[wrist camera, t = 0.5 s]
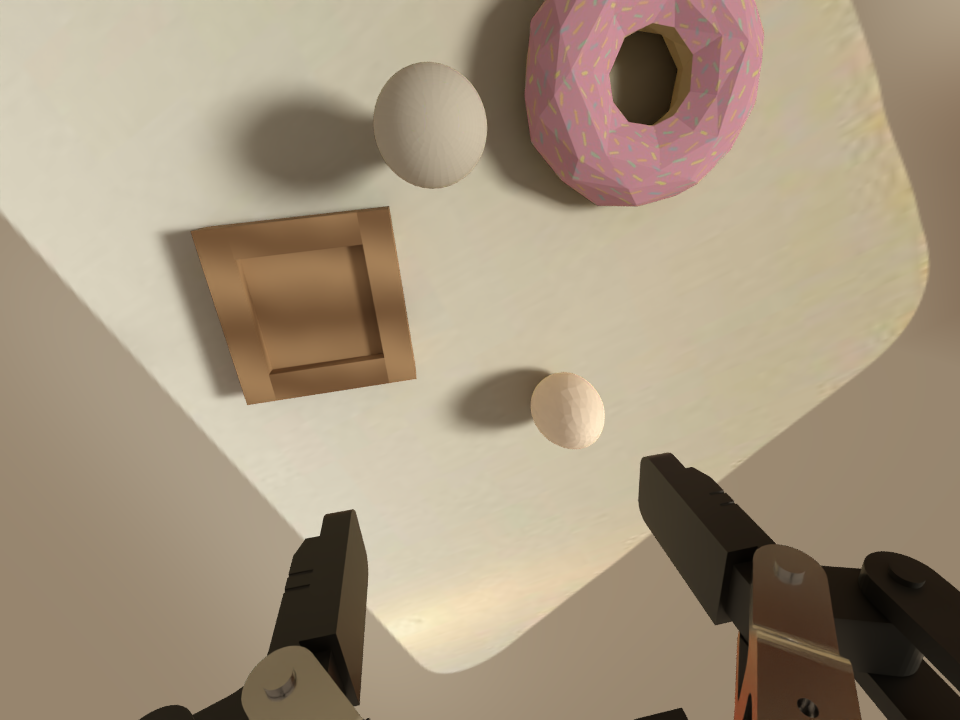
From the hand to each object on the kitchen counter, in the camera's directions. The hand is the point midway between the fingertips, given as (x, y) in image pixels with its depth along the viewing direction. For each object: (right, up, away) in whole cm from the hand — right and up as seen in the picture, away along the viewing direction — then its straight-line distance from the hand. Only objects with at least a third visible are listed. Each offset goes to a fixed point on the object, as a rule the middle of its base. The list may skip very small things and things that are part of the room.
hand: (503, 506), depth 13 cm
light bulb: (-4, +19, +18) cm, 27 cm away
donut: (+9, +23, +19) cm, 31 cm away
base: (-12, +8, +21) cm, 26 cm away
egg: (+5, +2, +27) cm, 27 cm away
